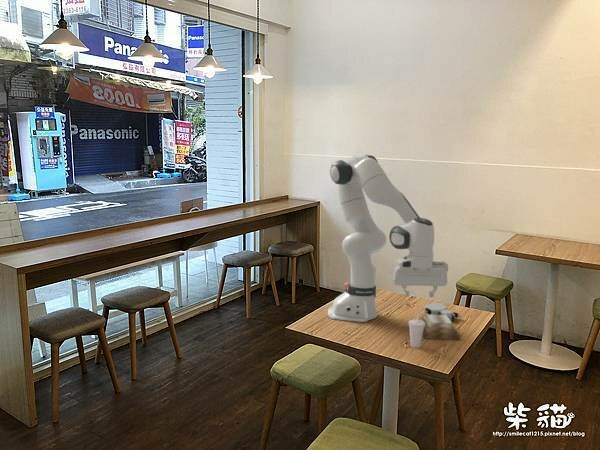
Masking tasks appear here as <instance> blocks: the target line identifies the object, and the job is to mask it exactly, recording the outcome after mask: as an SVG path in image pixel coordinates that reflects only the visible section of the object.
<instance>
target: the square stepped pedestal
mask: <svg viewBox="0 0 600 450" xmlns="http://www.w3.org/2000/svg"><path fill="white" fill-rule="evenodd" d="M421 320H422V321H424V322H425V326H424V330H423V335H422V338H423V339H427V340H431V339H433V340H455V341H456V340H458V341H459V340H460V334H459V332H458V331H457V329H456V328H455V327H454V325H453V322H452V320H451V321H450V319H449V318H448V317H447V315H428V314H427V313H425V314H424V317H422V318H421Z"/></svg>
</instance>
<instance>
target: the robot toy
mask: <svg viewBox="0 0 600 450" xmlns="http://www.w3.org/2000/svg"><path fill="white" fill-rule="evenodd" d="M420 308H421V309H422V310H423V311H424V312H425V314H426V315H447V317H448V318H449V319H450V321H451V322H452V321H455V318H462V315H461V314H459V313H458V312H453V311H451V310H449V309H448V307H447V305H444V304H443V303H441V302H433V303H432V302H431V303H429V304H426V305H425V306H424V307H423V306H420Z"/></svg>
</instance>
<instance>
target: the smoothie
mask: <svg viewBox="0 0 600 450" xmlns="http://www.w3.org/2000/svg"><path fill="white" fill-rule="evenodd" d="M419 317H420V310H417V314H416V318H413V319H410V320H408V323H407V324H408V327H409V343H410V344H409V345H410V347H412V348H420V347H421V344H422V340H423V330H424V326H425V322H424V321H422V319H419Z"/></svg>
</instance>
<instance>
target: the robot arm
mask: <svg viewBox="0 0 600 450" xmlns="http://www.w3.org/2000/svg"><path fill="white" fill-rule="evenodd" d="M329 170H330V171H329V173H330V177H331V180H332V181H333V182H334V183H335V184H336V185H337V188H338V189H337V190H338V191H337V192H338V196H339V201H340V205H341V210H342V212H343V216H344V219H345V221H346V223H348V224H349V225H350V226H351V227H352V229H353V230H354V232H352V233H350V234H349V235H347V236H345V237H344V239H343V240H342V243H341V248H342V249H341V250H342V252H343V253H344V254H345V255H346V256H347V258H348V261H349V265H350V283H349V282H345V283H344V288H345V291H344V292H343V293H341V294H340V295H338V296H337V297H335V298H334V300H333V304H332V306H330V307H329V308H328V309H327V316H328V318H330V319H332V320H341V321H349V322H359V323H360V322H361V323H366V322H368V321H370V320H374V319H375V318H377V317H378V312H377V307H376V295H377V284H376V278H377V277H376V274H377V268H376V267H375V265H374V264H373V263H372V259H371V258H372V257H371V256H372V254H375V253H377V252H380V251H381V250H382V249H383V248H385V246H386V244H387V236H386V234H385V232H384V231H383V230H382V229H380V228H379V227H378V225H377V224H376V223H375V221H374V219H373V217H372V215H371V213H370V210H369V207H368V204H367V201H366V198H368V199H369V200H370V201H371V202H372V203H374V204H378V205H382V206H386V207H388V208H391V209H393V210H394V211H395V212H397V214H398V215H399V216H400V218H401V220H402V221H403V222H404V223H402V224H397V225H395V226H393V227H392V228H391V229H390V232H389V243H390V244H391V246H392V247H394V248H395V249H396V250H405V249H406V250H408V251H409V253H408V254H409V255H405V256H401V257H399V258H397V259H396V264H397V265H396V266H395V267H394V269H393V270H394V271H393V275H392V283H393V284H394V285H395V286H401V288H402V289H403V291H404V293H403V294H404V295H403V296H404V297H410V291H409V290H407V286H413V287H417V286H418V287H419V286H420V287H425V286H426V287H432V290H430V291H428V296H429V298H434V297H435V293H436V291H437V290H438V287H446V286H447V285H448V274H447V273H448V271H449V265H448V264H447V262H445V261H435V260H434V250H433V248H434V245H435V227H434V223H433V222H432V221H431V220H430V219H428V218H425V217H424V218H423V217H420V216H419V214H418V213H417V212H416V210H415V209H414V208H413V206H412V205H411V203H410V201H409V200H408V199H407V198H406V196H405V195H404V194H403V193H402V191H400V190H398V188H397V187H396V186H395V185H394V184H393V183H392V182H391V180H390V179H389V177H388V175H387V174H386V172H385V170H384V169H383V167H382V165H380V164H379V161H378V159H377V158H376V157H375V156H373V155H370V154H369V155H368V154H364V155H356V156H351V157H348V158H344V159H340V160H339V159H338V160H337V161H334V162H333V163H332V164H331V166H330V169H329ZM365 195H366V197H365Z"/></svg>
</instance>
